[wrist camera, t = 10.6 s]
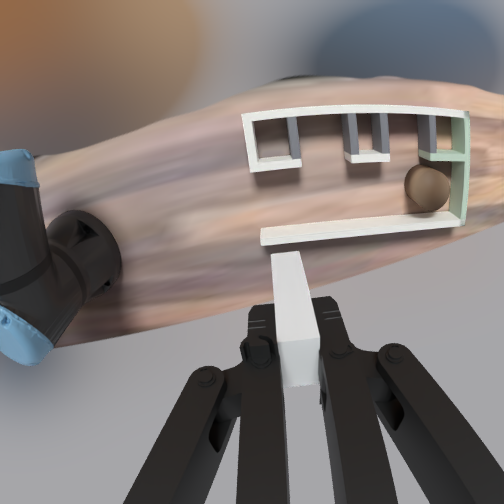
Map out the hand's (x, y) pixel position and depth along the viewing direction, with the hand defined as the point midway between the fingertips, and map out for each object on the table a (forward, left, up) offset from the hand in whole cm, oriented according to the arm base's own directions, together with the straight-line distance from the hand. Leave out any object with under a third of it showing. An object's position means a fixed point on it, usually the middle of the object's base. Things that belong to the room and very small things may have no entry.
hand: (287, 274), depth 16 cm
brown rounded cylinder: (+20, -2, -24) cm, 32 cm away
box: (+12, 0, -24) cm, 27 cm away
